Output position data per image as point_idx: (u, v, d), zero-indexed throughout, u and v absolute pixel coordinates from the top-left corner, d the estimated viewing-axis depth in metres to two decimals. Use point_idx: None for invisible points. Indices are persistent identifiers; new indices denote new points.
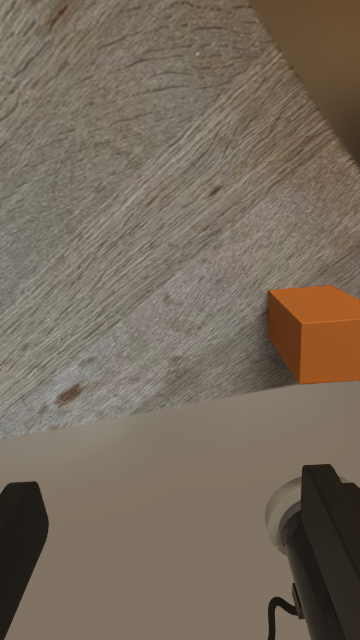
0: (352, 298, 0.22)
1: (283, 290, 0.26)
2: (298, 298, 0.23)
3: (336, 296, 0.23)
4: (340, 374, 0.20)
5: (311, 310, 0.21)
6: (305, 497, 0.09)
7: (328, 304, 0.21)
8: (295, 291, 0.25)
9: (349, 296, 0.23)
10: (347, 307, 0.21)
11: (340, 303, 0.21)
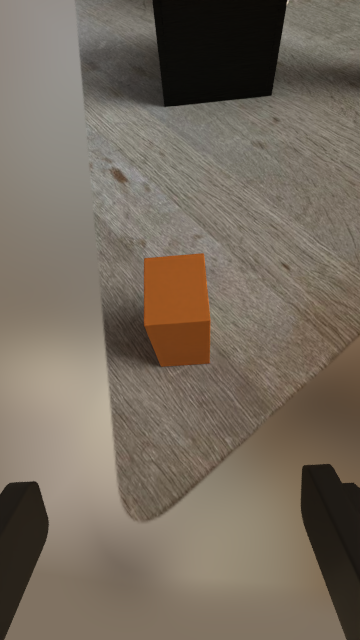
0: (209, 343, 0.23)
1: None
2: None
3: None
4: (152, 288, 0.21)
5: None
6: (305, 497, 0.09)
7: None
8: None
9: (209, 345, 0.24)
10: None
11: None
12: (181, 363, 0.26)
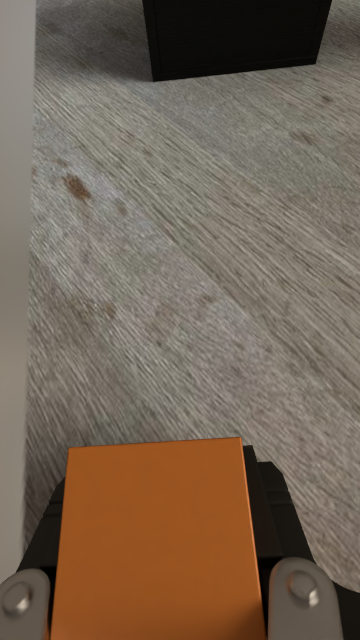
0: None
1: None
2: None
3: None
4: (80, 576, 0.06)
5: None
6: None
7: None
8: None
9: None
10: None
11: None
12: None
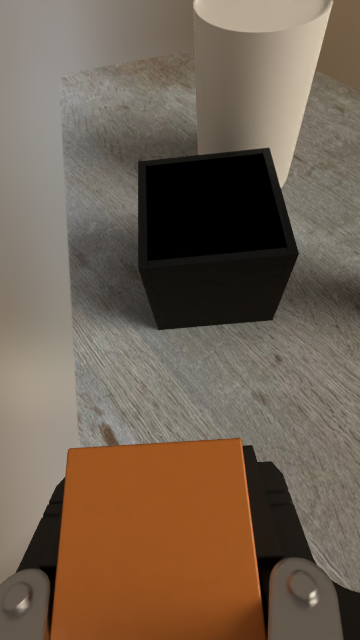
0: None
1: None
2: None
3: None
4: (80, 578, 0.06)
5: None
6: None
7: None
8: None
9: None
10: None
11: None
12: None
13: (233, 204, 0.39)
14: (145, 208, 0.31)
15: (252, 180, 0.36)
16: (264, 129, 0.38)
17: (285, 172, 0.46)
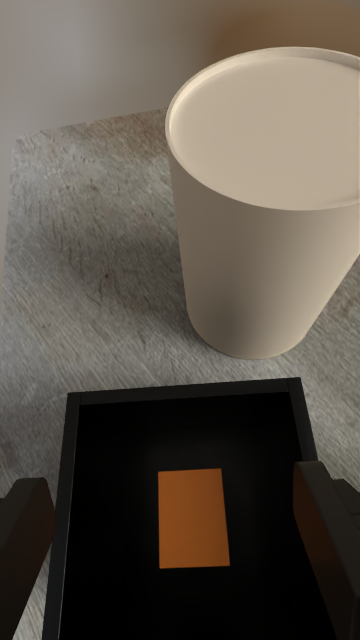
0: None
1: None
2: None
3: None
4: (167, 515, 0.20)
5: None
6: (296, 493, 0.10)
7: None
8: None
9: None
10: None
11: None
12: None
13: (235, 415, 0.24)
14: (67, 524, 0.16)
15: (267, 404, 0.21)
16: (287, 306, 0.23)
17: None
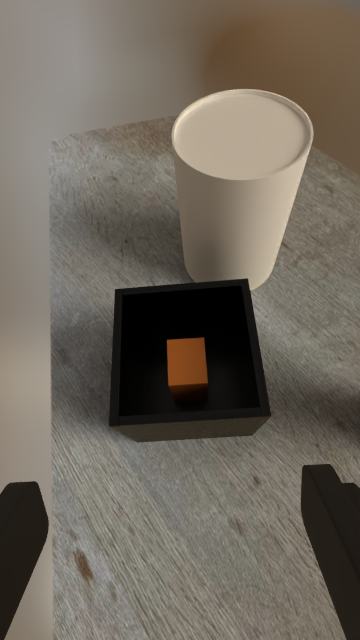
0: (207, 391, 0.36)
1: None
2: None
3: None
4: (172, 361, 0.34)
5: None
6: (305, 497, 0.09)
7: None
8: None
9: (207, 392, 0.37)
10: None
11: None
12: (189, 401, 0.40)
13: (214, 316, 0.39)
14: (119, 349, 0.31)
15: (232, 302, 0.36)
16: (245, 245, 0.37)
17: (270, 268, 0.45)
